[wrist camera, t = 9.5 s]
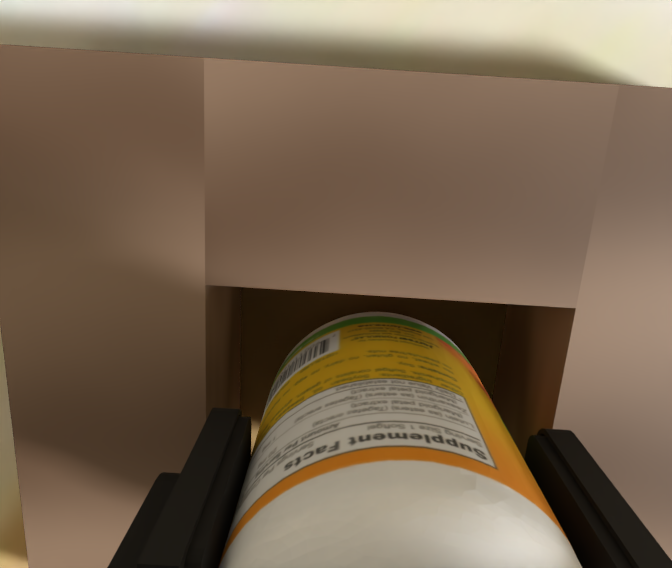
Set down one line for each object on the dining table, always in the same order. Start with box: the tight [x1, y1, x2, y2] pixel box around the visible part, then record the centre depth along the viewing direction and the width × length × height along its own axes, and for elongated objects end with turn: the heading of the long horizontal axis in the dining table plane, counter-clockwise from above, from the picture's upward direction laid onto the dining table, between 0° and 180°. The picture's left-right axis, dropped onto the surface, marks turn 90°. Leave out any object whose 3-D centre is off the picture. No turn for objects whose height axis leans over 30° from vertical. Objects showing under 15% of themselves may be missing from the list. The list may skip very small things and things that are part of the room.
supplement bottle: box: [218, 312, 582, 568], centre depth 9 cm, size 5×5×10 cm
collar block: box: [0, 44, 672, 568], centre depth 13 cm, size 16×16×4 cm
